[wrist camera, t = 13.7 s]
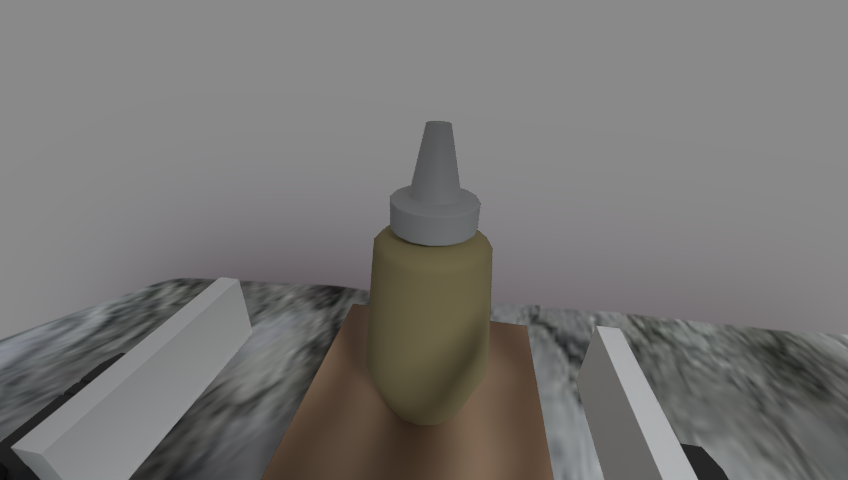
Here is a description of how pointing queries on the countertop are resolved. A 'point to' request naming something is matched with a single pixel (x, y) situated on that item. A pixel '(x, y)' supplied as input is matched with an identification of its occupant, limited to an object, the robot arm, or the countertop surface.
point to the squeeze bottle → (430, 291)
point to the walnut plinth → (409, 443)
